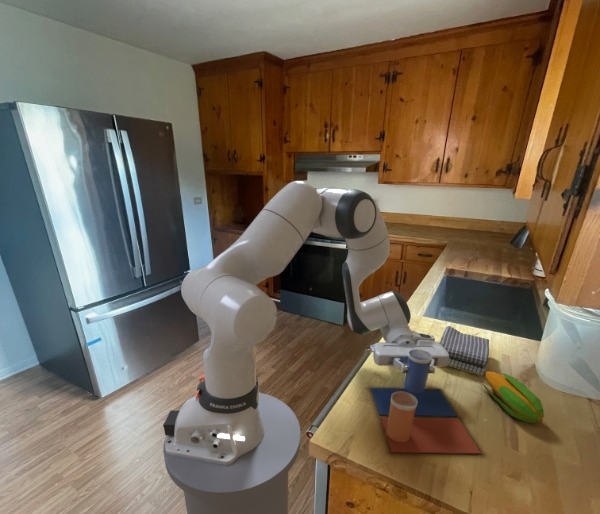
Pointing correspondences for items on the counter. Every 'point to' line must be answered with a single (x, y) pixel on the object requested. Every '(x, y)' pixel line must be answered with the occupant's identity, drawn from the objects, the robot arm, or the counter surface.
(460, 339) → the towel
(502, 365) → the counter surface
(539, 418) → the corn
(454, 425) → the terracotta mat
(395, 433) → the terracotta canister
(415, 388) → the blue canister
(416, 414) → the blue mat
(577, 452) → the counter surface
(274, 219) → the robot arm
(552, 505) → the counter surface
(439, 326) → the counter surface
